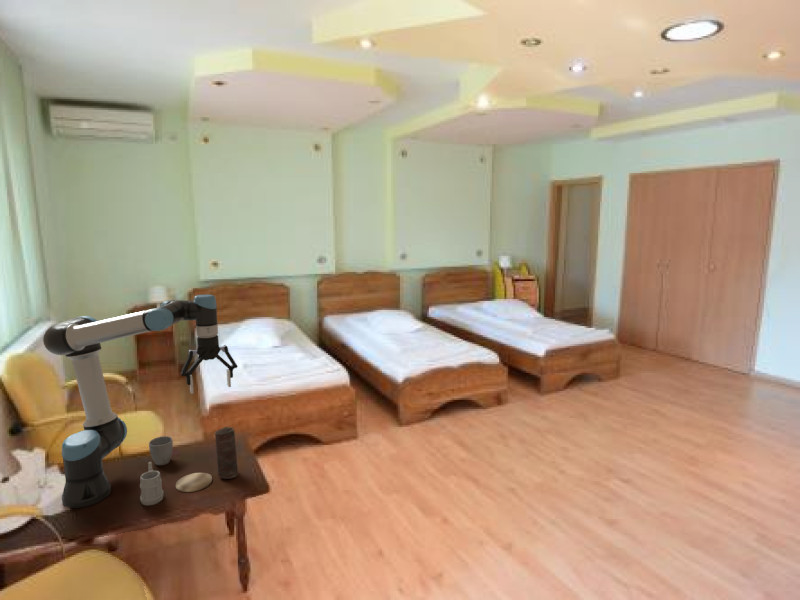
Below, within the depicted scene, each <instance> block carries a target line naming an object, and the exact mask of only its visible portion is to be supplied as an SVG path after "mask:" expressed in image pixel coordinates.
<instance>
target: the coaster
mask: <svg viewBox="0 0 800 600" xmlns="http://www.w3.org/2000/svg"><path fill="white" fill-rule="evenodd" d="M212 481H213V477H212V475H211V474H210V473H207V472H194V473H189V474H186V475H184V476H182V477H181V478H179V479H178V480H176V483H175V489H176V490H177V491H178V492H181V493H195V492H197V491H201V490H203V489H205V488H207V487H208V486H210V485H211V483H213V482H212Z"/></svg>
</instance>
